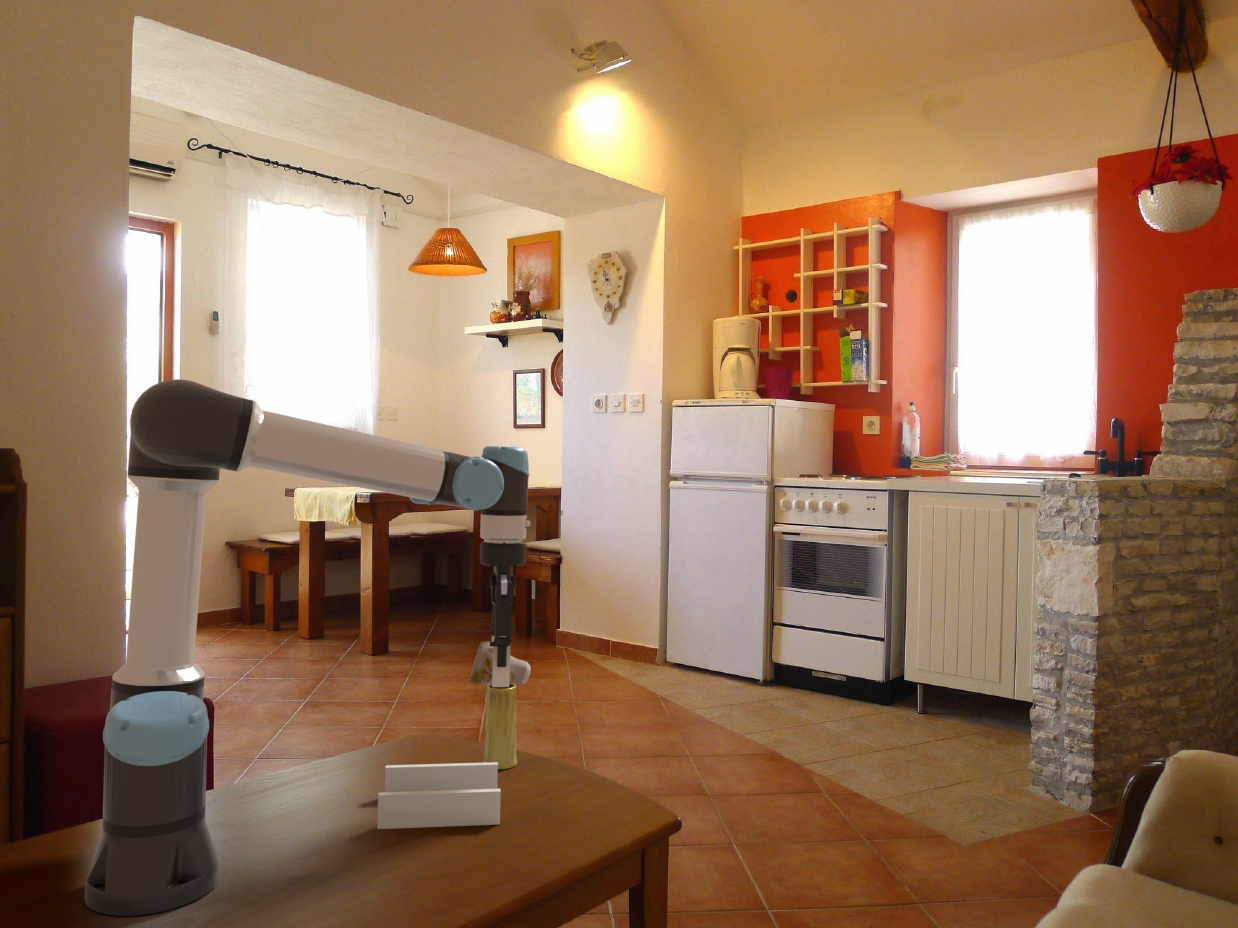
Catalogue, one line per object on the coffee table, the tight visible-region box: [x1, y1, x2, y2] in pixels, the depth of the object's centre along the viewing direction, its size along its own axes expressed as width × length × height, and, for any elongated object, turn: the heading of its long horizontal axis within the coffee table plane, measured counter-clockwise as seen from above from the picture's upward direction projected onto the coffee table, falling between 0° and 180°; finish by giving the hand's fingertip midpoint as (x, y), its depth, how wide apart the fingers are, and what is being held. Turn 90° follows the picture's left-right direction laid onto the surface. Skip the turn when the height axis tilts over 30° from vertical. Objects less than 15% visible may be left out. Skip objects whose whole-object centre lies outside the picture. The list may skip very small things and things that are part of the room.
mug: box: [468, 640, 532, 687], centre depth 152 cm, size 8×10×10 cm
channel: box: [376, 762, 501, 830], centre depth 146 cm, size 18×14×5 cm
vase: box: [482, 683, 518, 770], centre depth 168 cm, size 6×6×14 cm
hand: (499, 680), depth 152 cm, fingers closed on mug, 7 cm apart
